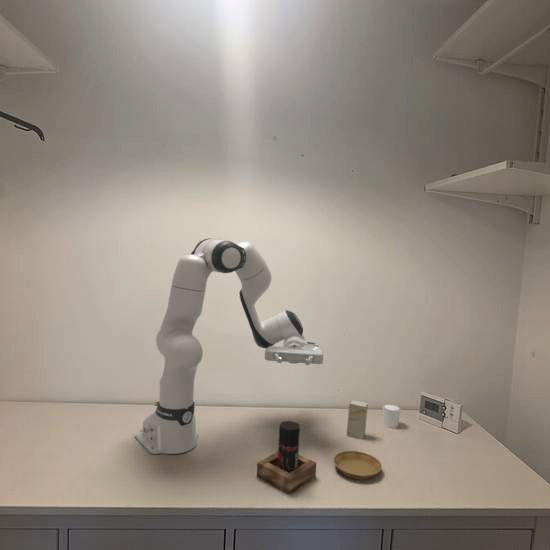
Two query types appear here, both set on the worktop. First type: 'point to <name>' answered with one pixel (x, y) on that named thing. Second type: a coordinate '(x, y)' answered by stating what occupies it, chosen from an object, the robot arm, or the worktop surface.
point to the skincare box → (357, 419)
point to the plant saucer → (357, 464)
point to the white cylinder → (391, 415)
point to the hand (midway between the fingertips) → (293, 361)
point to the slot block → (286, 473)
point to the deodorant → (288, 446)
